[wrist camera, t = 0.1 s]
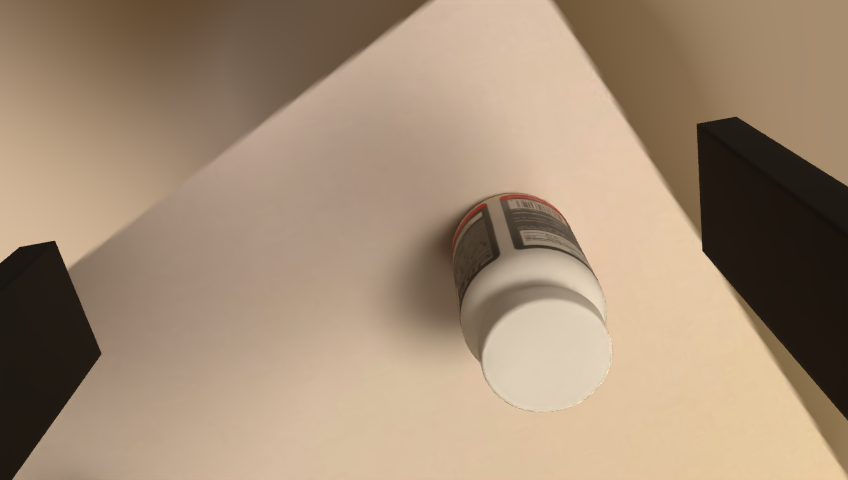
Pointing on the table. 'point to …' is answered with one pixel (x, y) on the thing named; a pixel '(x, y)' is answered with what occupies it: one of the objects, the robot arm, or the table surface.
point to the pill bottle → (530, 304)
